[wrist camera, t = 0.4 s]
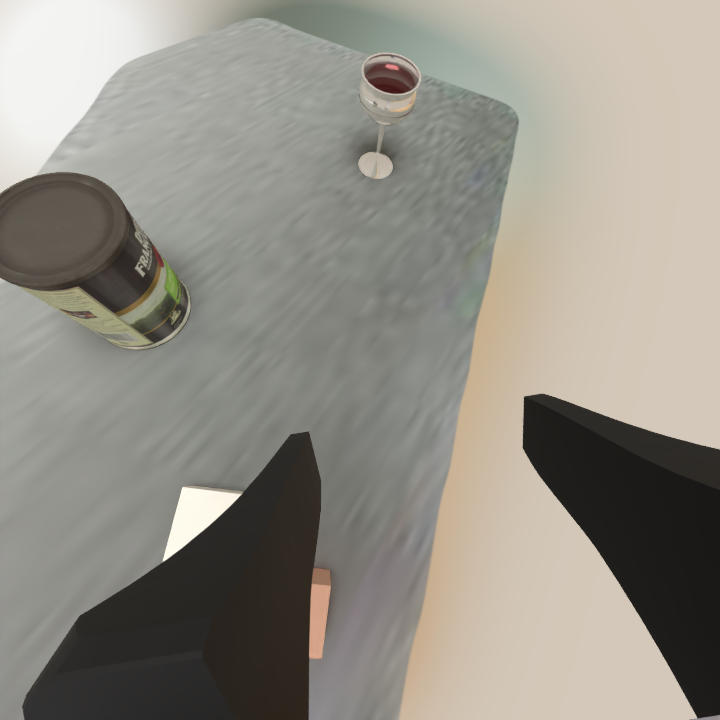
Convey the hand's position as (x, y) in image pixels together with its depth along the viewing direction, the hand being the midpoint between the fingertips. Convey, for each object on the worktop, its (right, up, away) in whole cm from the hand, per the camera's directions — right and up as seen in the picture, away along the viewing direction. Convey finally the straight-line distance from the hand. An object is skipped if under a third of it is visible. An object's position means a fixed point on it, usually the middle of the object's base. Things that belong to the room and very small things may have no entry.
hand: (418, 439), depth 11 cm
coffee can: (-27, +9, +28) cm, 40 cm away
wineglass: (0, +30, +38) cm, 49 cm away
